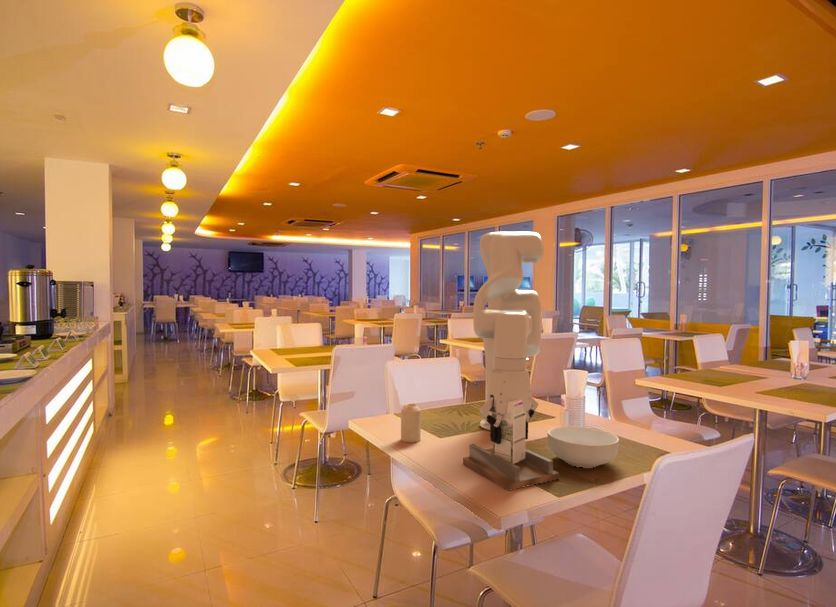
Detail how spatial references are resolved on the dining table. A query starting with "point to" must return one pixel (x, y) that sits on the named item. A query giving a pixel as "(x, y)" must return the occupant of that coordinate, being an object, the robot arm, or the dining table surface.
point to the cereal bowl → (583, 445)
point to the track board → (511, 468)
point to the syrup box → (512, 433)
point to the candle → (410, 423)
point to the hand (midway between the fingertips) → (509, 439)
